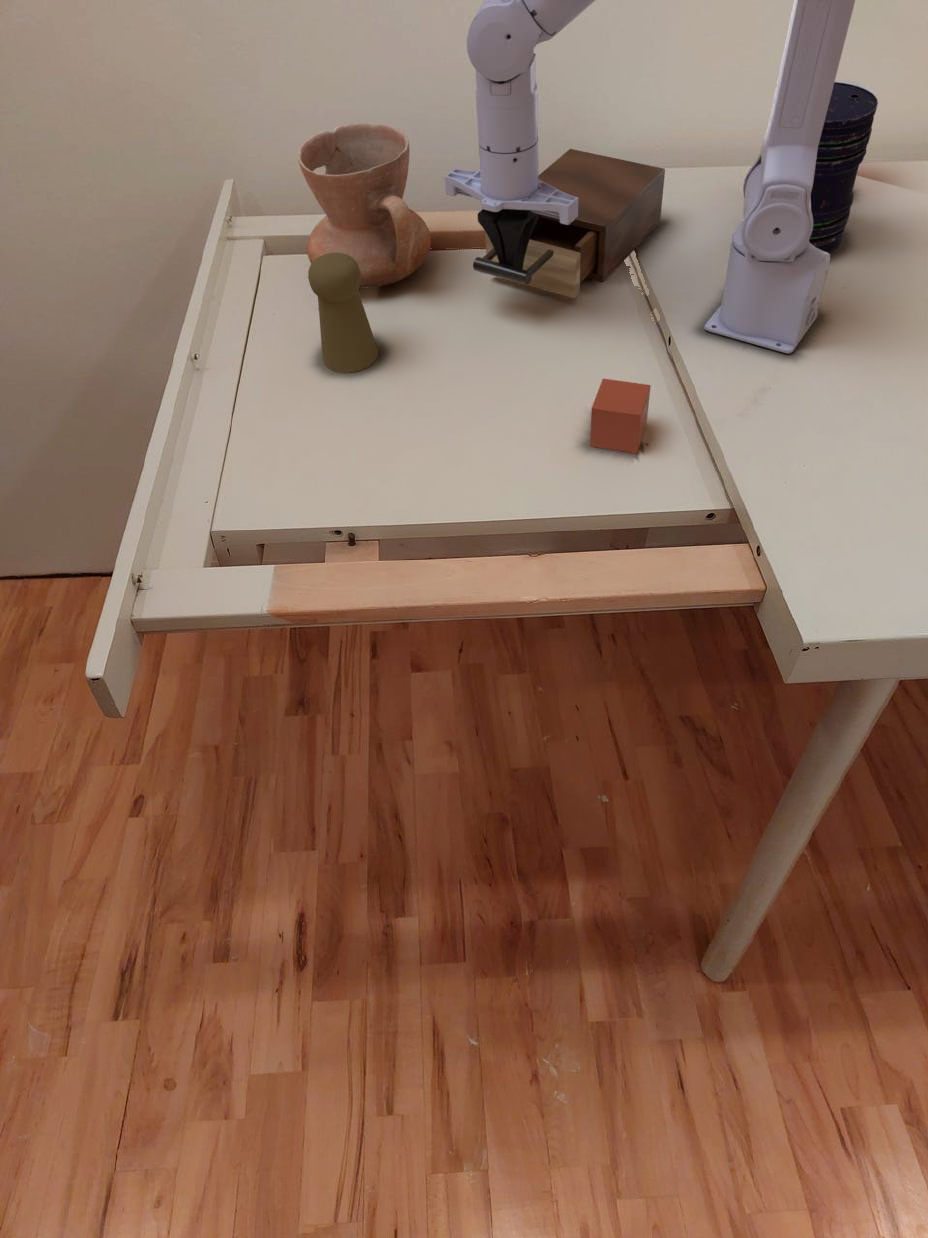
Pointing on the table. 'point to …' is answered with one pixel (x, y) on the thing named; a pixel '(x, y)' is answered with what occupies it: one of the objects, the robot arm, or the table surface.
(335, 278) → the olive green pawn
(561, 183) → the cabinet
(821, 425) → the table surface
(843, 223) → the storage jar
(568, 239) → the drawer
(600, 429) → the block
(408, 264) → the ceramic jug
